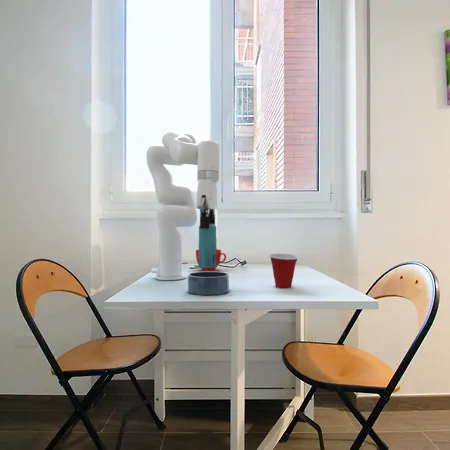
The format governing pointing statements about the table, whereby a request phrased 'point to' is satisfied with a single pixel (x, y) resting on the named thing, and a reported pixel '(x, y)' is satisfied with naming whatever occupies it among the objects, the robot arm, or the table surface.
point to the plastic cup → (283, 269)
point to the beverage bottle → (207, 246)
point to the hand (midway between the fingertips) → (207, 227)
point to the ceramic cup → (216, 261)
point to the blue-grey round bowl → (208, 283)
